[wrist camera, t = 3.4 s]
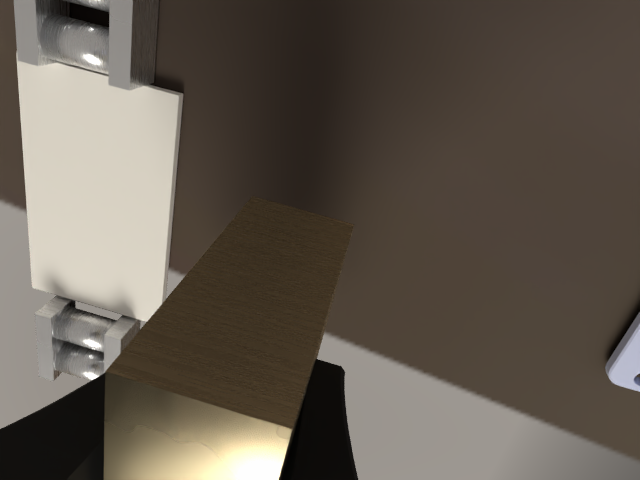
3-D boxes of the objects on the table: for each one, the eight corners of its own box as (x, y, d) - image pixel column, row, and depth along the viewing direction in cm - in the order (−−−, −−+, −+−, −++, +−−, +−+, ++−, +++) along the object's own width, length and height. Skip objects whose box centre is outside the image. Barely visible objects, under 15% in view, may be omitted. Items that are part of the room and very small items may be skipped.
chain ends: (161, -33, 13) (133, -36, 12) (137, 375, 20) (118, 401, 19) (47, -62, 13) (9, -68, 12) (62, 352, 20) (39, 376, 19)
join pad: (183, 93, 15) (178, 95, 14) (163, 321, 18) (160, 325, 18) (23, 50, 15) (16, 52, 15) (37, 283, 19) (32, 287, 18)
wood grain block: (354, 224, 11) (291, 429, 6) (295, 434, 15) (222, 687, 9) (252, 196, 11) (104, 371, 6) (217, 410, 15) (101, 645, 9)
